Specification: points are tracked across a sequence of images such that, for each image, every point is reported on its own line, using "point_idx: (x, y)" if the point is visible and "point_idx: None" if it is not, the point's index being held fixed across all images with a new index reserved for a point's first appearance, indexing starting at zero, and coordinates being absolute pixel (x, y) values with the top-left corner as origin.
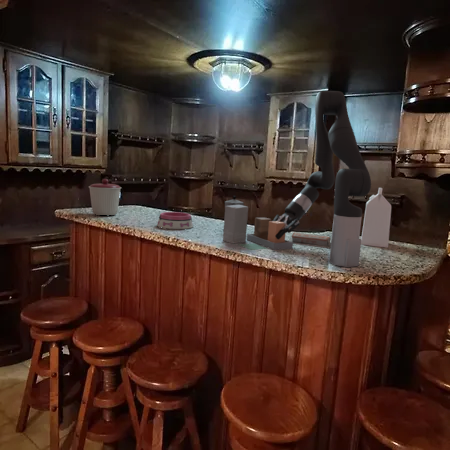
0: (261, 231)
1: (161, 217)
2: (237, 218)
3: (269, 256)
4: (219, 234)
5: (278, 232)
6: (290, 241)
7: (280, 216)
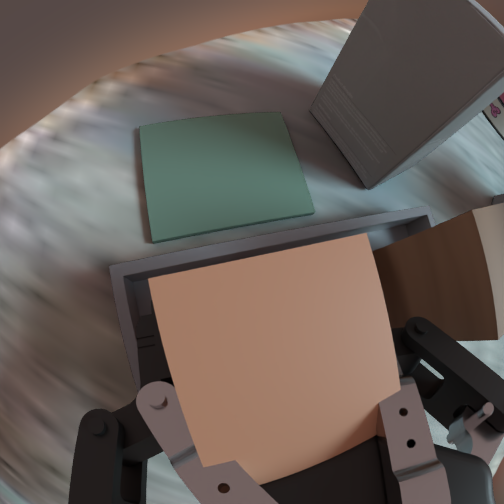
0: (394, 252)
1: None
2: (382, 16)
3: (20, 190)
4: (470, 161)
5: None
6: None
7: (490, 448)
